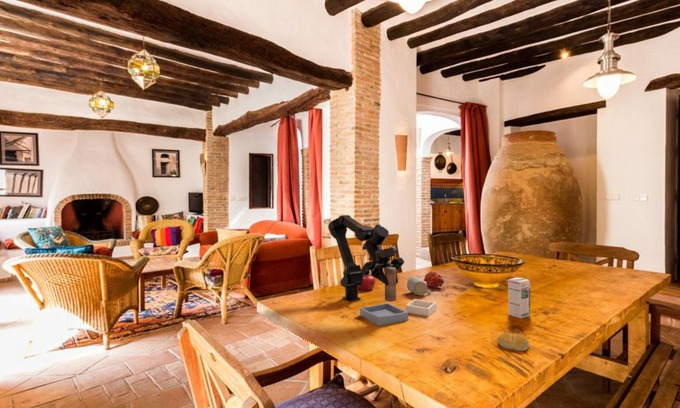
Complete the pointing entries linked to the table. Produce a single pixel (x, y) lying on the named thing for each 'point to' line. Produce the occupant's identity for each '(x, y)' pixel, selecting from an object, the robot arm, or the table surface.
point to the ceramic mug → (417, 286)
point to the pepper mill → (390, 284)
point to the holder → (421, 307)
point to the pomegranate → (367, 282)
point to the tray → (383, 314)
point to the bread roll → (513, 341)
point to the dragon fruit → (433, 280)
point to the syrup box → (519, 297)
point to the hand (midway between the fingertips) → (392, 284)
